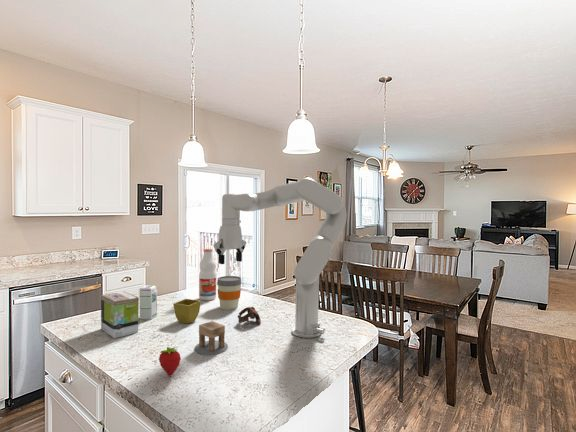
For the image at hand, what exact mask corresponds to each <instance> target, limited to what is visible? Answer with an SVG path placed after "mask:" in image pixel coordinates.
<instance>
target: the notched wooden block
mask: <svg viewBox="0 0 576 432" xmlns="http://www.w3.org/2000/svg"><path fill="white" fill-rule="evenodd" d="M225 334H226V325H223V324H221V323H219V322H216V321H213V320H211V321H207V322H205V323H202V324H199V325H198V336H199V337H198V339H199V341H198V344H199V347H201V348H202V347H205V341H206V337H207V338H208V341H209V351H210V352H213V351H215V340H216V338H217V337H218V341H219V348H223V347H224V342H225Z"/></svg>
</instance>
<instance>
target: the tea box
mask: <svg viewBox="0 0 576 432" xmlns="http://www.w3.org/2000/svg"><path fill="white" fill-rule="evenodd" d="M100 299H101V300H100V304H101V305H100V329H101V331H102V330H103V331H104V332H105V333H106V334H108V335H109V336H110V337H112V338H114V339H117V338H121V337H124V336H128V335H132V334H133V335H134V334H137V333H139V314H140V298H139V296H136V295H134V294H132V293H130V292H127V291H117V292H112V293H107V294H106V293H105V294H101V296H100Z"/></svg>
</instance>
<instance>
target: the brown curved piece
mask: <svg viewBox="0 0 576 432" xmlns="http://www.w3.org/2000/svg"><path fill="white" fill-rule="evenodd" d="M246 312H247V314H245V313H246ZM244 314H245V315H244ZM237 318H238V320H237V321H238V322H237V323H239V324H241V323H245V322H246V323H247V322H250V321H249V319H252V320H255V321H256V322H257V323H258V325H259V326H261V324H262V322H261V316H260V314H259V313H258V311H257V310H256V308H255V307H253V306H248V307H245V308H243V309H242V310H241V311H240V312H239V313H238V315H237Z"/></svg>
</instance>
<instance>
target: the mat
mask: <svg viewBox="0 0 576 432" xmlns="http://www.w3.org/2000/svg"><path fill="white" fill-rule="evenodd" d="M228 346H229V345H228V343H227V342H225V341H224V347H223V348H219V339H218V340H216V339H215V351H213V352H210V351H209V340H205V347H202V348H201V347H199V343H197V344H196V345H195V346H194V351H195V353H197V354H199V355H202V356H214V355H219V354H221V353H224V352H225V351H227V350H228V348H229V347H228Z"/></svg>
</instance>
